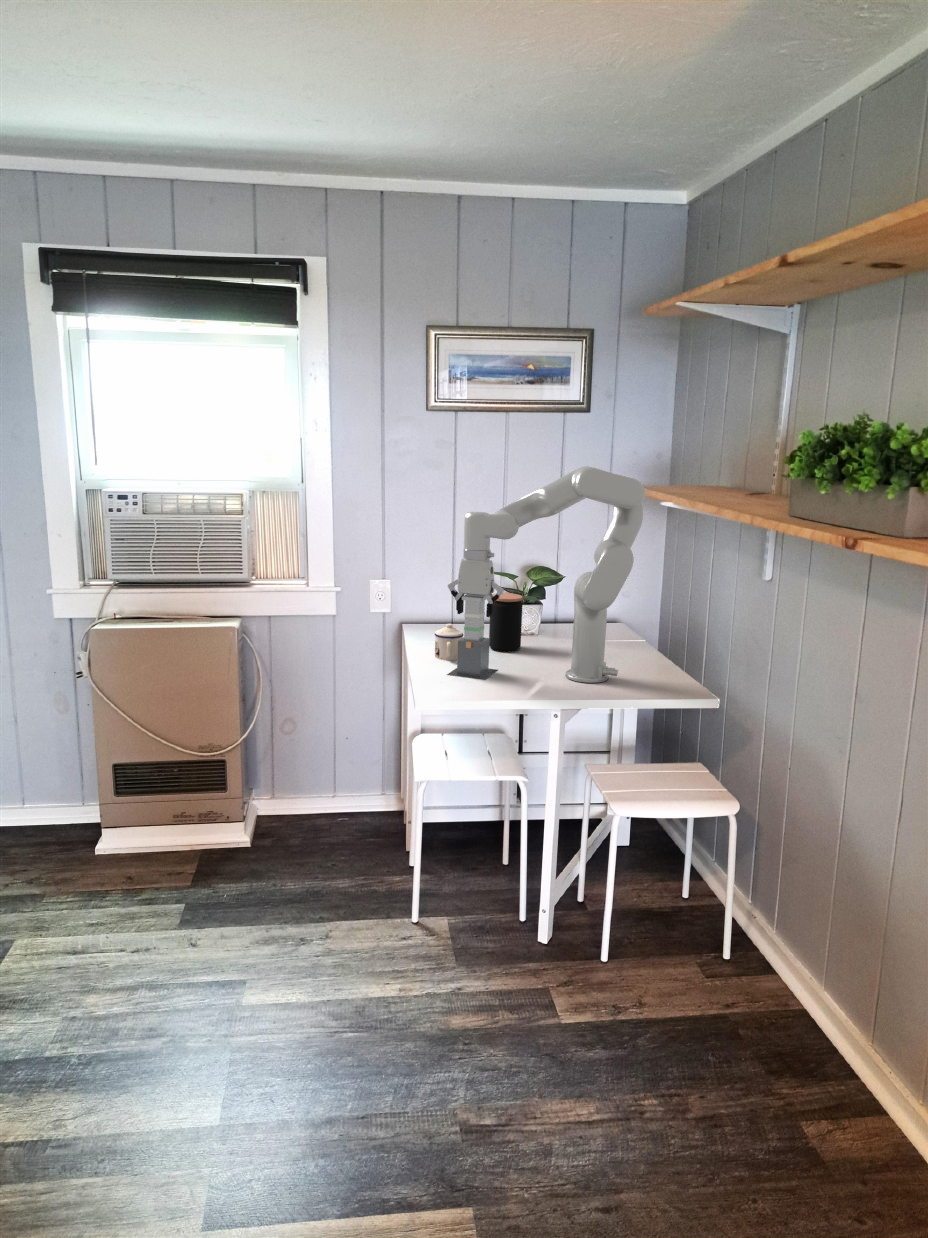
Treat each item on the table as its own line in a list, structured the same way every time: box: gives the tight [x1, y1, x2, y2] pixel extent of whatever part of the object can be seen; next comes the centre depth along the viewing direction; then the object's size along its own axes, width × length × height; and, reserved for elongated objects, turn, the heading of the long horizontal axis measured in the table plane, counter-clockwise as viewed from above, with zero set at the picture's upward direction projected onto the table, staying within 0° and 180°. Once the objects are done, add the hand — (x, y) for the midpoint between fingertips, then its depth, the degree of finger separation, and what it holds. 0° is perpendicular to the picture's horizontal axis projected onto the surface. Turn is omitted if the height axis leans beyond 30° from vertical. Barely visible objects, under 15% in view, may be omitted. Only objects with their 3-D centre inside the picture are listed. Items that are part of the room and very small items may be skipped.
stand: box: [446, 636, 499, 681], centre depth 247 cm, size 12×12×11 cm
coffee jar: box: [488, 592, 524, 653], centre depth 280 cm, size 11×11×18 cm
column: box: [462, 594, 487, 642], centre depth 245 cm, size 6×6×17 cm
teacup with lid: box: [434, 623, 464, 661], centre depth 262 cm, size 12×9×12 cm
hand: (474, 614), depth 244 cm, fingers open, 8 cm apart
